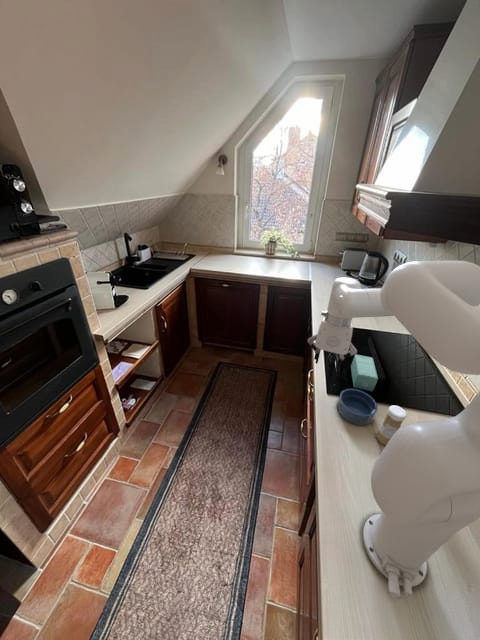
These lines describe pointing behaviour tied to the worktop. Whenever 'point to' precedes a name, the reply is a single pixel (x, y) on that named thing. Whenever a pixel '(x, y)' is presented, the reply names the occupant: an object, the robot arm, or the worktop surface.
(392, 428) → the sprinkles bottle
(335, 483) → the worktop surface
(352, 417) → the bowl
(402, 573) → the robot arm
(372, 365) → the box
